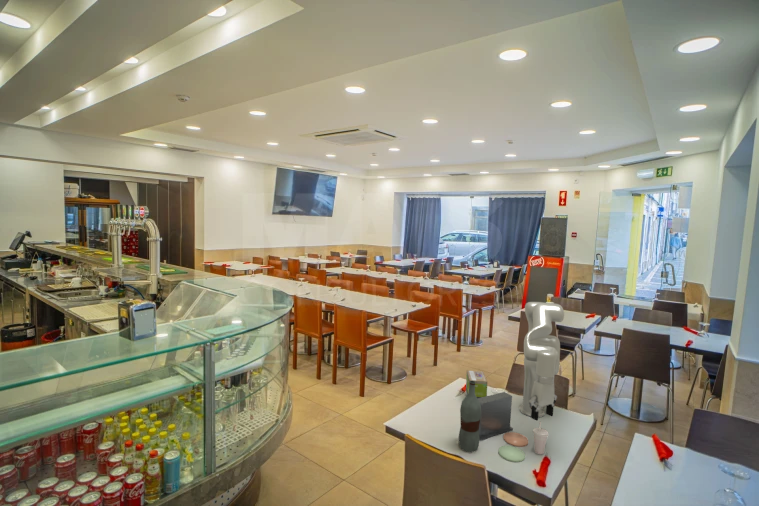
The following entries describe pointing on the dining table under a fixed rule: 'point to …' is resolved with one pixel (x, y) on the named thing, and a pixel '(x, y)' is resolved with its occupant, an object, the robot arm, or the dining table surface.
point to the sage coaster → (511, 453)
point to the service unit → (495, 415)
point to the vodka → (470, 421)
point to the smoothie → (540, 439)
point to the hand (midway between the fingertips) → (542, 417)
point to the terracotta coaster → (515, 439)
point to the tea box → (477, 383)
